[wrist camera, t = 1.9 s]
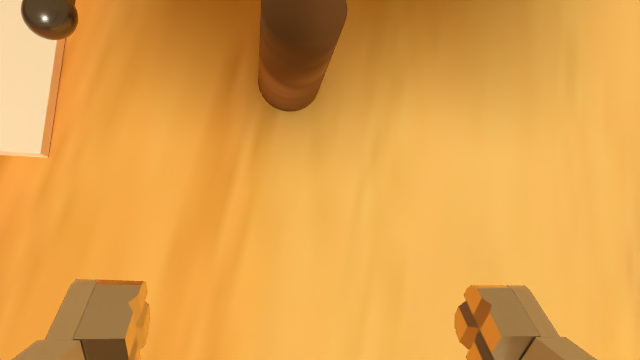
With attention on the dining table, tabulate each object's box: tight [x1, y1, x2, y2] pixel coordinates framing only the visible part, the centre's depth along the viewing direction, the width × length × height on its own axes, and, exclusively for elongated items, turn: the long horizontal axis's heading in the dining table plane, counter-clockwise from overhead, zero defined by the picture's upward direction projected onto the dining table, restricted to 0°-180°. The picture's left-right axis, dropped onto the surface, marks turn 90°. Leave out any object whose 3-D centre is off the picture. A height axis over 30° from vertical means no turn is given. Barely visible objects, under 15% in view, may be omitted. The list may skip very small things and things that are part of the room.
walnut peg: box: [259, 0, 347, 111], centre depth 25 cm, size 4×4×9 cm
